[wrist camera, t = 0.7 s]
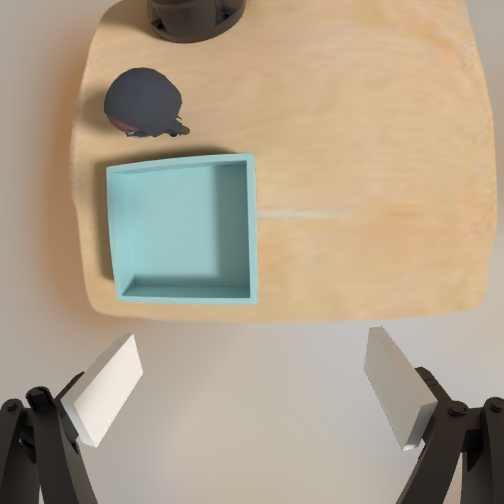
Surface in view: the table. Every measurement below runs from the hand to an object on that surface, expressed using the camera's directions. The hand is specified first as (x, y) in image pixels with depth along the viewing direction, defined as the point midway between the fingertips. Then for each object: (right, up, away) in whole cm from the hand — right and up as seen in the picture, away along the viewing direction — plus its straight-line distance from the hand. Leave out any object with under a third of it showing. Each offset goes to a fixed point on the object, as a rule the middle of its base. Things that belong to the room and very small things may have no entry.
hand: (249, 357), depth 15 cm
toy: (-11, +23, +22) cm, 33 cm away
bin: (-8, +9, +24) cm, 27 cm away
